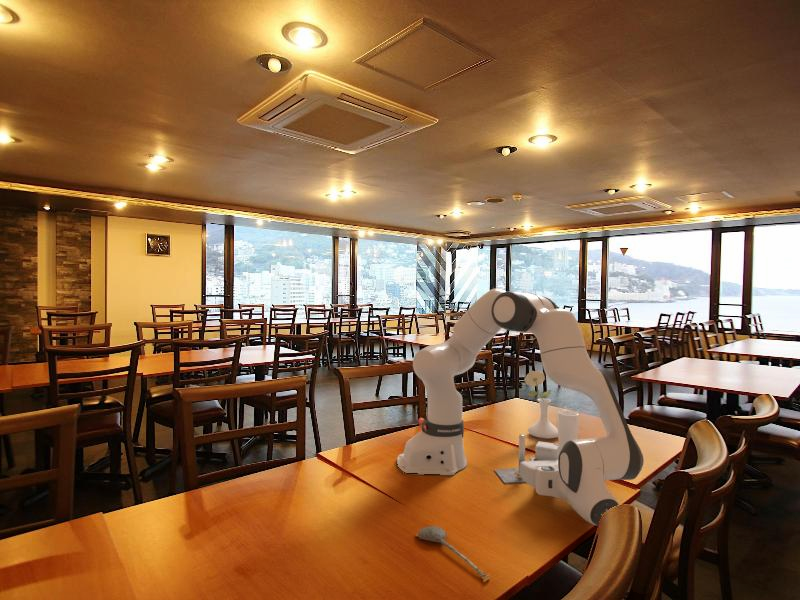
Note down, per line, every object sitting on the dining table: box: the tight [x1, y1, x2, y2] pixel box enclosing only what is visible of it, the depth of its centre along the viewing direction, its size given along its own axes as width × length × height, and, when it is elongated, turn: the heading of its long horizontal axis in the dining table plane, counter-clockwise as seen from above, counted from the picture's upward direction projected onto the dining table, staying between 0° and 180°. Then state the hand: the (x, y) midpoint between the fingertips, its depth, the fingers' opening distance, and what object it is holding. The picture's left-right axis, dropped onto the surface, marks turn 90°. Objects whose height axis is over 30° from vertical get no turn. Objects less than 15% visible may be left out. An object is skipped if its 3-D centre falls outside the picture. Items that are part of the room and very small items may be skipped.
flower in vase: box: [524, 370, 558, 440], centre depth 169 cm, size 13×11×25 cm
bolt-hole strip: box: [493, 467, 527, 485], centre depth 137 cm, size 26×9×1 cm, turn 97°
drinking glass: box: [556, 409, 580, 454], centre depth 150 cm, size 7×7×15 cm
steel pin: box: [516, 433, 526, 476], centre depth 135 cm, size 3×3×12 cm
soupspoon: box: [417, 525, 490, 579], centre depth 98 cm, size 22×3×7 cm
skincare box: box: [534, 441, 560, 461], centre depth 127 cm, size 6×4×12 cm
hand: (545, 458), depth 128 cm, fingers closed on skincare box, 7 cm apart
